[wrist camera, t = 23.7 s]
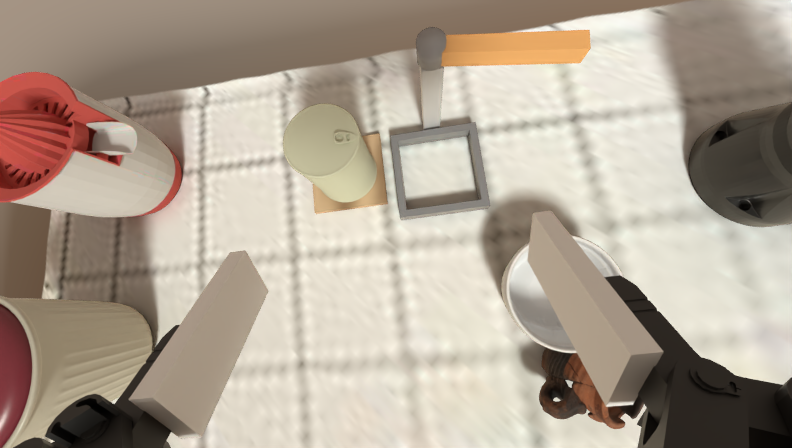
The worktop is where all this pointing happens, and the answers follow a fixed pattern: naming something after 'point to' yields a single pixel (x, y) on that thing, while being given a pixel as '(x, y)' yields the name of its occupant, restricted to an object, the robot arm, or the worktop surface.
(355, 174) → the can
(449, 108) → the worktop surface
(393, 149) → the socket
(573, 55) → the orange bar
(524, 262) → the ramekin
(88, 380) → the canister
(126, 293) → the worktop surface
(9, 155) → the citrus juicer
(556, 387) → the pottery mug
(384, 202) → the plate
